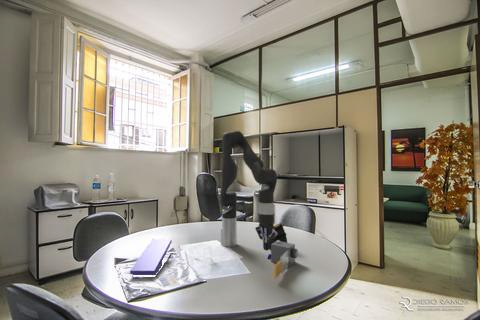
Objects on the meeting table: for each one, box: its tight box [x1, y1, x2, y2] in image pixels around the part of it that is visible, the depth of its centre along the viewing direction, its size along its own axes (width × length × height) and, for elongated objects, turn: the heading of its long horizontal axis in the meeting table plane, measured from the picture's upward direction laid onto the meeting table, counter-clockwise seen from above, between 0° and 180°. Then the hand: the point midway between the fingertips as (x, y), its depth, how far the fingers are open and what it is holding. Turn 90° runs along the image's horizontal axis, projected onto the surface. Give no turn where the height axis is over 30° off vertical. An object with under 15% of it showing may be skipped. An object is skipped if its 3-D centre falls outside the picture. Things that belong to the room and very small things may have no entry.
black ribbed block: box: [269, 222, 288, 251], centre depth 139 cm, size 4×13×15 cm, turn 91°
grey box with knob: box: [270, 241, 299, 267], centre depth 119 cm, size 12×7×10 cm, turn 53°
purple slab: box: [129, 238, 173, 276], centre depth 117 cm, size 12×28×10 cm, turn 2°
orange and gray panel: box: [273, 249, 291, 279], centre depth 106 cm, size 19×1×8 cm, turn 150°
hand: (266, 249), depth 107 cm, fingers closed
